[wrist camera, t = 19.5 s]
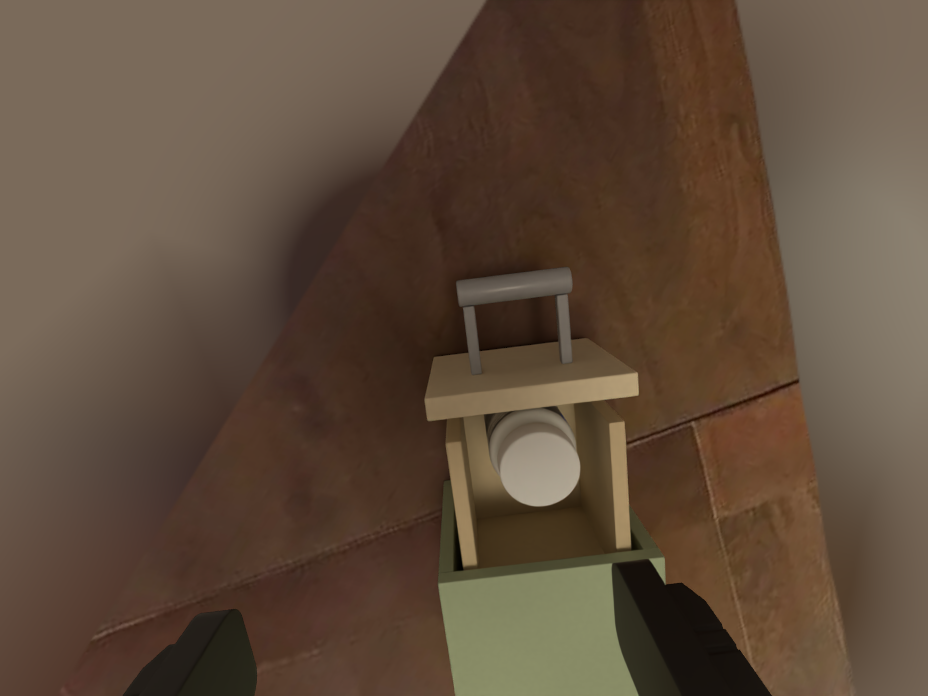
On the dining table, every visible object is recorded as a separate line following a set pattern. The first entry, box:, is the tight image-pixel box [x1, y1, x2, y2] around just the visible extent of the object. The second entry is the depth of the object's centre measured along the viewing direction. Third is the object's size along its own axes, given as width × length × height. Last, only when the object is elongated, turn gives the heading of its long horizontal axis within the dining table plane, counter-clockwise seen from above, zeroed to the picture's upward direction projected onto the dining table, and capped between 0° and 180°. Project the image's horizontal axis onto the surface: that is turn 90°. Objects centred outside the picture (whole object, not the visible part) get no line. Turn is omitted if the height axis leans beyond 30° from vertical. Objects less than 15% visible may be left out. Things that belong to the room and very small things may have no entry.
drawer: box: [424, 267, 639, 571], centre depth 27 cm, size 18×10×9 cm, turn 7°
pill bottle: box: [484, 406, 580, 506], centre depth 26 cm, size 5×5×8 cm
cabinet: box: [438, 480, 666, 696], centre depth 30 cm, size 14×12×11 cm
